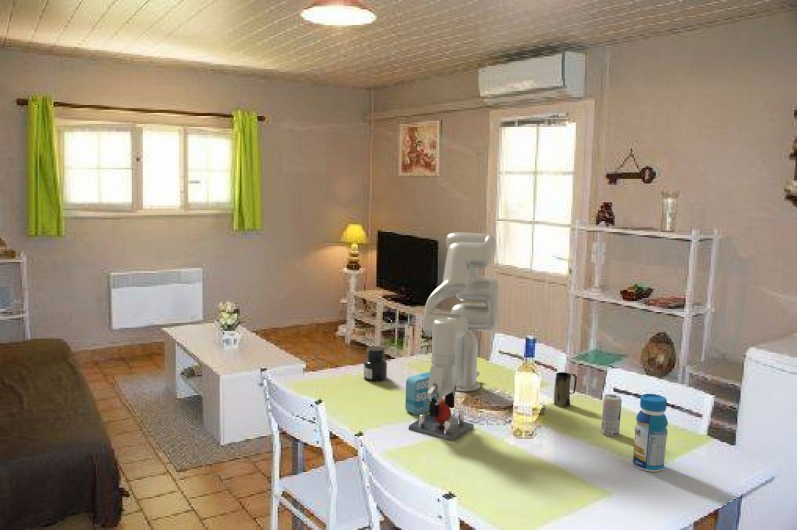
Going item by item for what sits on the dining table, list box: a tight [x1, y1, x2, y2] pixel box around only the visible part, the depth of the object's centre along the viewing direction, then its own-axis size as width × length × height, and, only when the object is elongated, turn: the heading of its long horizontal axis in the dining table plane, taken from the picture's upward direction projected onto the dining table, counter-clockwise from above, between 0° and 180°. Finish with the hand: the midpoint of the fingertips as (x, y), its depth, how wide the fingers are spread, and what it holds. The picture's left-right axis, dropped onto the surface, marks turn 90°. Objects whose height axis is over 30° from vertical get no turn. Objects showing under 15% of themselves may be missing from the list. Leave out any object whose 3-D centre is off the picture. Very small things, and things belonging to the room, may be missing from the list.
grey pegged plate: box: [408, 411, 475, 442], centre depth 205 cm, size 13×16×5 cm
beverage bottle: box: [632, 393, 669, 473], centre depth 181 cm, size 8×8×20 cm
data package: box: [404, 371, 441, 415], centre depth 221 cm, size 12×4×12 cm, turn 130°
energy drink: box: [600, 393, 623, 438], centre depth 204 cm, size 5×5×12 cm
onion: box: [433, 399, 452, 425], centre depth 205 cm, size 6×6×8 cm
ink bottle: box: [363, 345, 388, 382], centre depth 253 cm, size 10×9×12 cm
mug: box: [553, 371, 578, 409], centre depth 228 cm, size 8×6×12 cm
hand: (441, 411), depth 205 cm, fingers open, 9 cm apart
